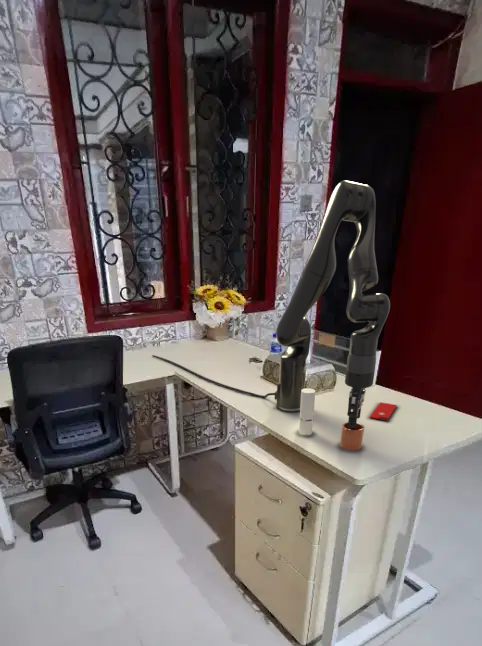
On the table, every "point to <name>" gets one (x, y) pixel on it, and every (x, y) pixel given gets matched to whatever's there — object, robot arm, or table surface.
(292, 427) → the table surface
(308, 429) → the tube
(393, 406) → the electronic device
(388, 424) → the table surface
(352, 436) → the pen cup
